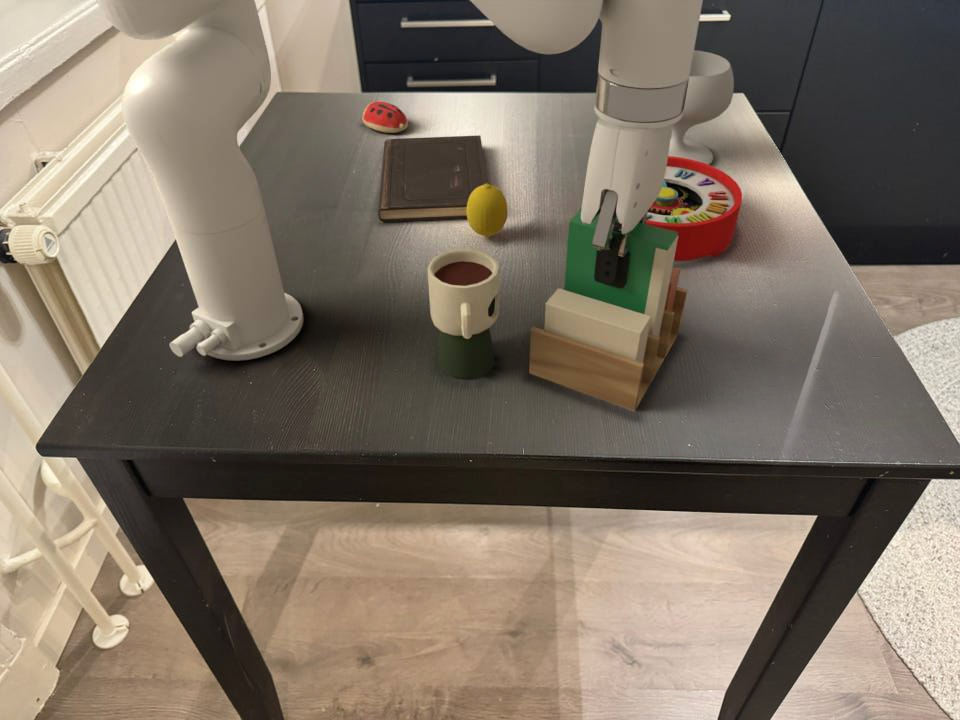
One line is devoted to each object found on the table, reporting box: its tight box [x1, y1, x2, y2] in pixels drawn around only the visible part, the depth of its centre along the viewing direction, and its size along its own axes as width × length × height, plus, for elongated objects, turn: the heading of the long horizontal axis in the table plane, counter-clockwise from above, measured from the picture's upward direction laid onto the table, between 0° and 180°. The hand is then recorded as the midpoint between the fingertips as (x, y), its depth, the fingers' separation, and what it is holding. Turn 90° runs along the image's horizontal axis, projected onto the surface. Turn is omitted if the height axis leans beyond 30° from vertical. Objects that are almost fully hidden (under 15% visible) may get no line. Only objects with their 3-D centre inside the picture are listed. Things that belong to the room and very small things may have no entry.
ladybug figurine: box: [361, 101, 409, 134], centre depth 128 cm, size 7×10×4 cm
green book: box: [563, 207, 678, 336], centre depth 75 cm, size 3×10×16 cm, turn 61°
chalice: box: [668, 49, 735, 165], centre depth 113 cm, size 14×14×15 cm
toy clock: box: [646, 156, 743, 262], centre depth 100 cm, size 20×6×20 cm
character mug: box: [427, 248, 500, 380], centre depth 76 cm, size 11×7×13 cm, turn 4°
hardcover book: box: [377, 134, 489, 223], centre depth 112 cm, size 16×23×2 cm
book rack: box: [528, 286, 689, 412], centre depth 79 cm, size 14×12×7 cm
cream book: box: [543, 287, 651, 363], centre depth 75 cm, size 3×10×9 cm, turn 60°
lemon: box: [466, 183, 508, 238], centre depth 98 cm, size 6×6×8 cm
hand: (616, 272), depth 74 cm, fingers closed on green book, 3 cm apart
